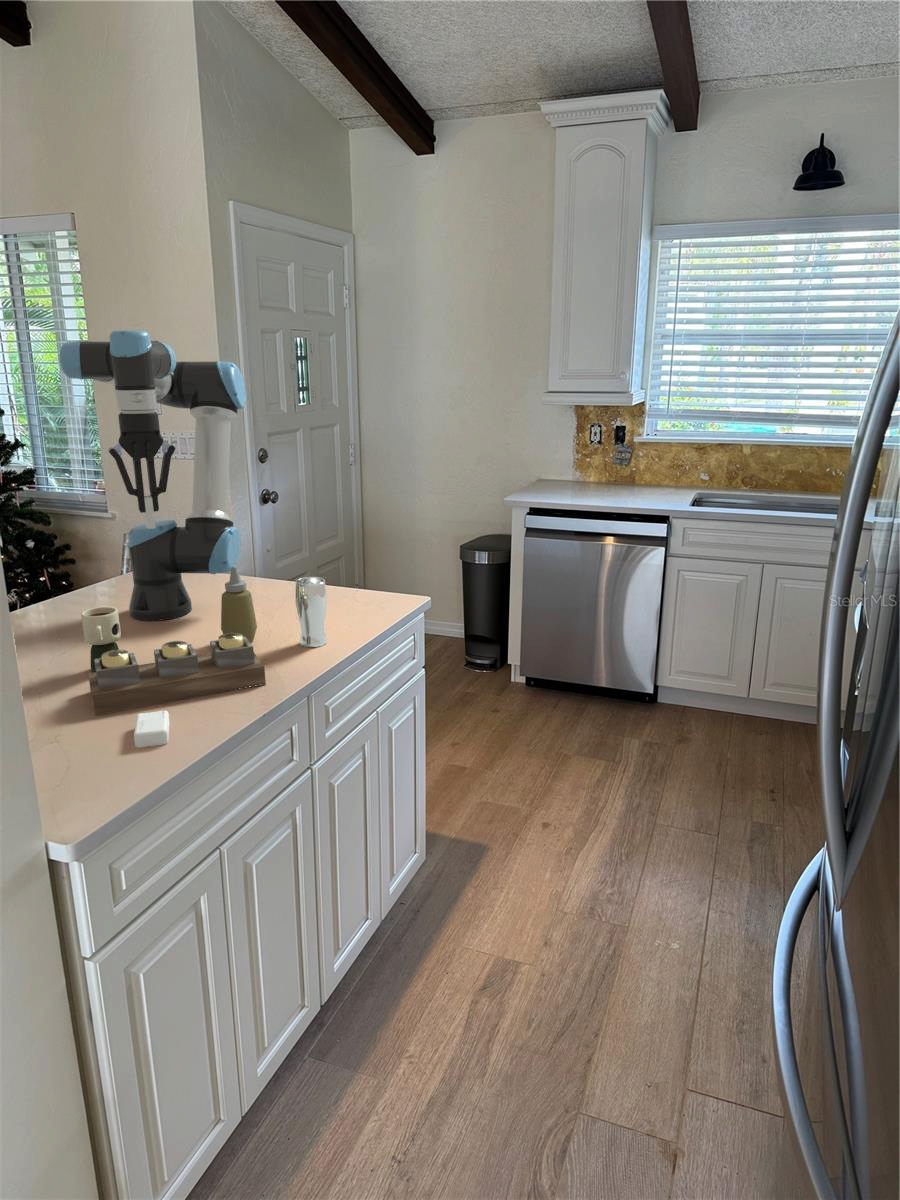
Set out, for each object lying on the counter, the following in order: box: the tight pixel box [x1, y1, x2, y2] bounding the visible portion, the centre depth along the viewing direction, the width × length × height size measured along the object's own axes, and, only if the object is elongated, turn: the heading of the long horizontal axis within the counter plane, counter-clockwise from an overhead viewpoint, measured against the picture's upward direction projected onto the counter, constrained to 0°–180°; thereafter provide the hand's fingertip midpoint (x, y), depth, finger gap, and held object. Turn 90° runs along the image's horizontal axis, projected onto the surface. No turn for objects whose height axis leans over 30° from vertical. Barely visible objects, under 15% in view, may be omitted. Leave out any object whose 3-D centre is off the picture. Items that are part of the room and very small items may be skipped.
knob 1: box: [101, 649, 130, 669], centre depth 158 cm, size 5×5×5 cm
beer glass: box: [294, 576, 328, 648], centre depth 188 cm, size 7×7×15 cm
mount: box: [87, 636, 267, 716], centre depth 164 cm, size 12×32×8 cm, turn 116°
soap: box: [133, 710, 170, 749], centre depth 145 cm, size 9×6×3 cm, turn 16°
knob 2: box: [218, 633, 244, 651], centre depth 168 cm, size 5×5×5 cm
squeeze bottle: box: [220, 566, 258, 644], centre depth 188 cm, size 8×8×18 cm
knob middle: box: [161, 640, 188, 660], centre depth 163 cm, size 5×5×5 cm
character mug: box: [80, 606, 122, 672], centre depth 173 cm, size 11×7×13 cm, turn 16°
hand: (150, 527), depth 172 cm, fingers closed
